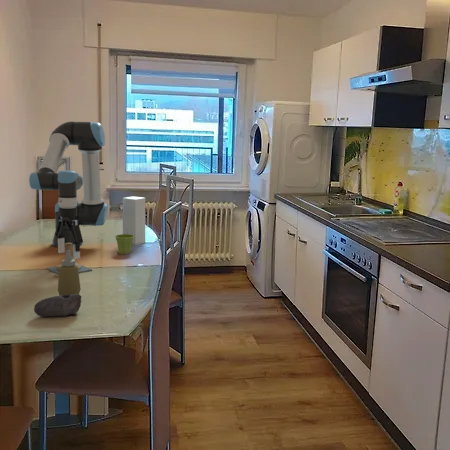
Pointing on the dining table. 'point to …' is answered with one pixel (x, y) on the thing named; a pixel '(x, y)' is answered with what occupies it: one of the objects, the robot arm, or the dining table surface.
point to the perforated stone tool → (58, 305)
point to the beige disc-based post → (70, 247)
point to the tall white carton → (134, 218)
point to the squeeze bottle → (68, 276)
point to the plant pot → (124, 243)
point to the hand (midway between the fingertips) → (68, 255)
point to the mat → (83, 269)
